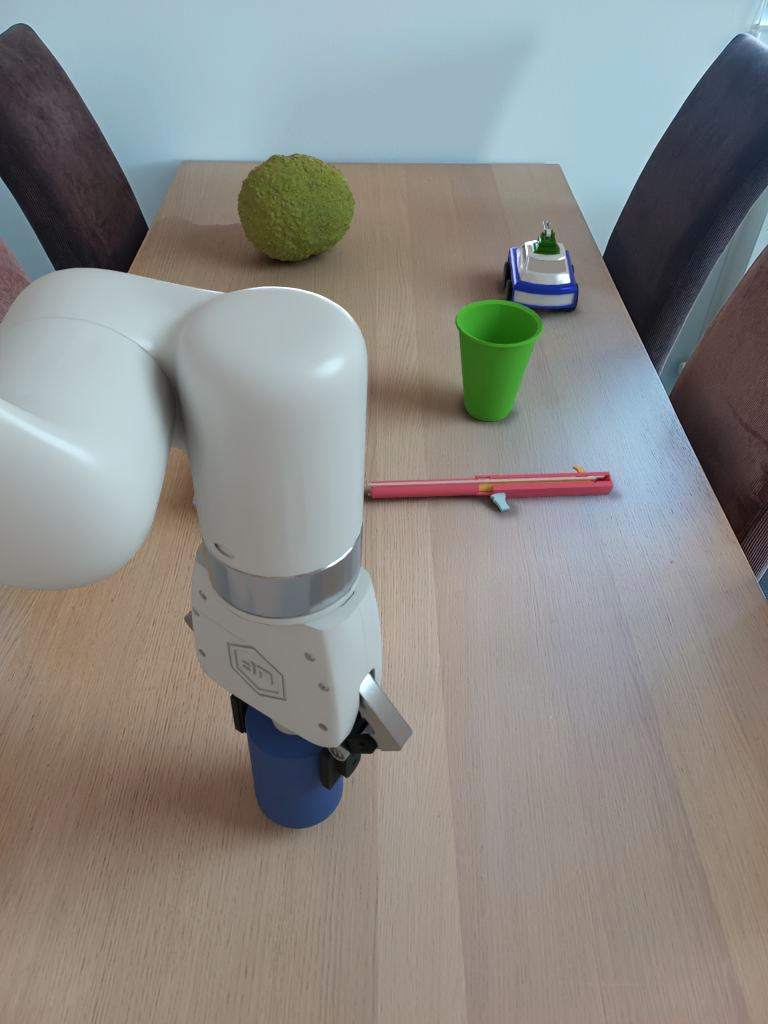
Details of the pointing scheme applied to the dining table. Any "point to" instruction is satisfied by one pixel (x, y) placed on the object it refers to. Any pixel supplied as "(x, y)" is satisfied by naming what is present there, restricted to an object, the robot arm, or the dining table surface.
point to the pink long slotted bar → (500, 486)
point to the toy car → (541, 274)
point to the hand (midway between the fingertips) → (296, 740)
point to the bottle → (287, 774)
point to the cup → (495, 354)
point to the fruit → (295, 206)
